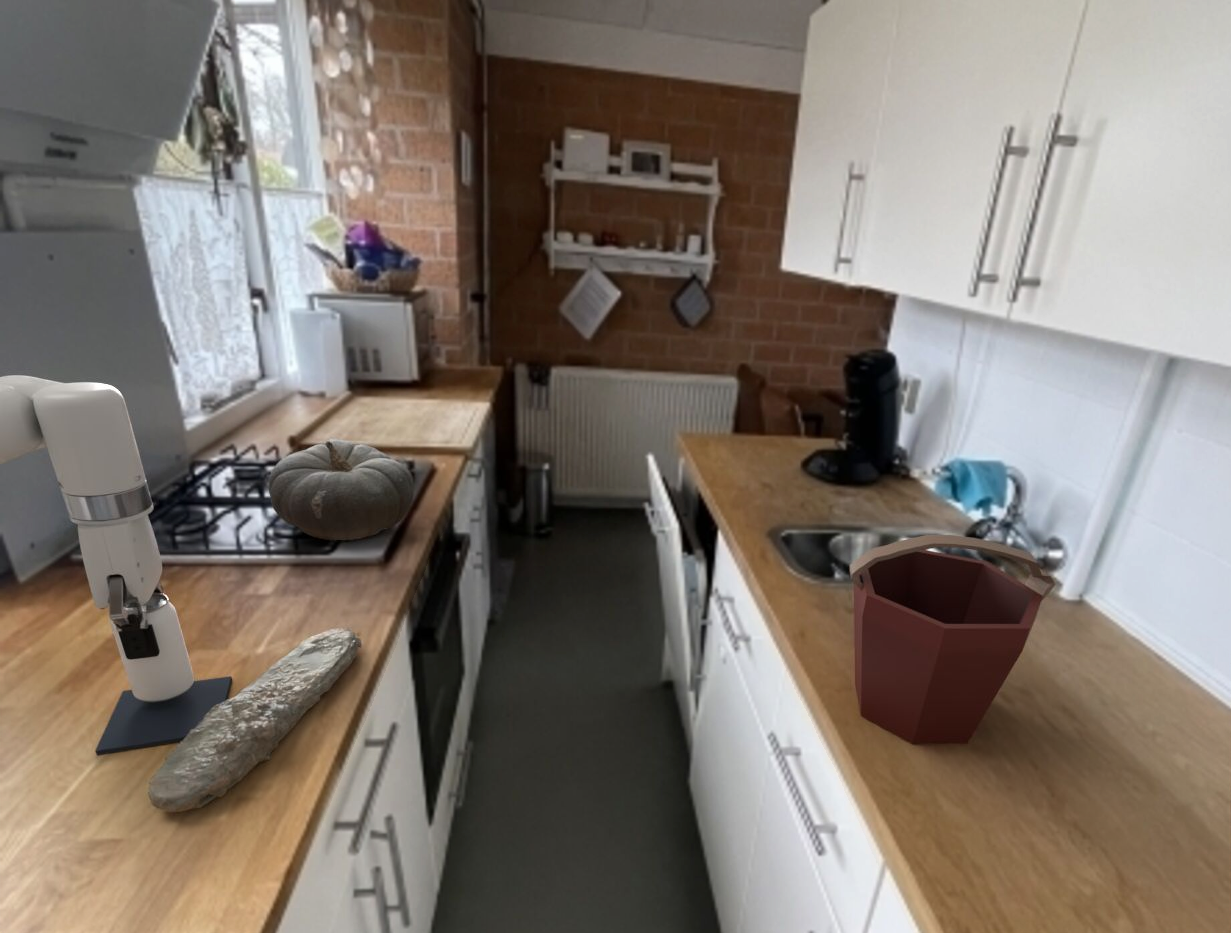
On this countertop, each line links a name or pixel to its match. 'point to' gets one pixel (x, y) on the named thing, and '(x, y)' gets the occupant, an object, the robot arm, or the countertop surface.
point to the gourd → (341, 490)
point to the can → (171, 666)
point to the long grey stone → (250, 723)
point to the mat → (160, 717)
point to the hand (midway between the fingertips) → (150, 639)
